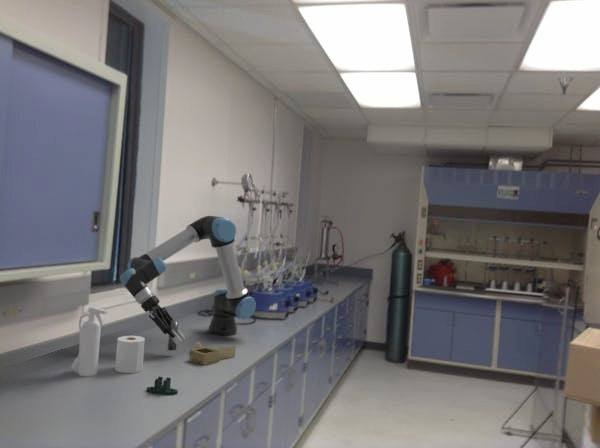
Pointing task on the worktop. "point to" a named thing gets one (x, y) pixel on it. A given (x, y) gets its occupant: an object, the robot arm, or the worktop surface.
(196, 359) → the tan piece
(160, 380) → the mount
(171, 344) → the hinge pin
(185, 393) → the worktop surface
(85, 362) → the fire extinguisher
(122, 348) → the toilet paper
